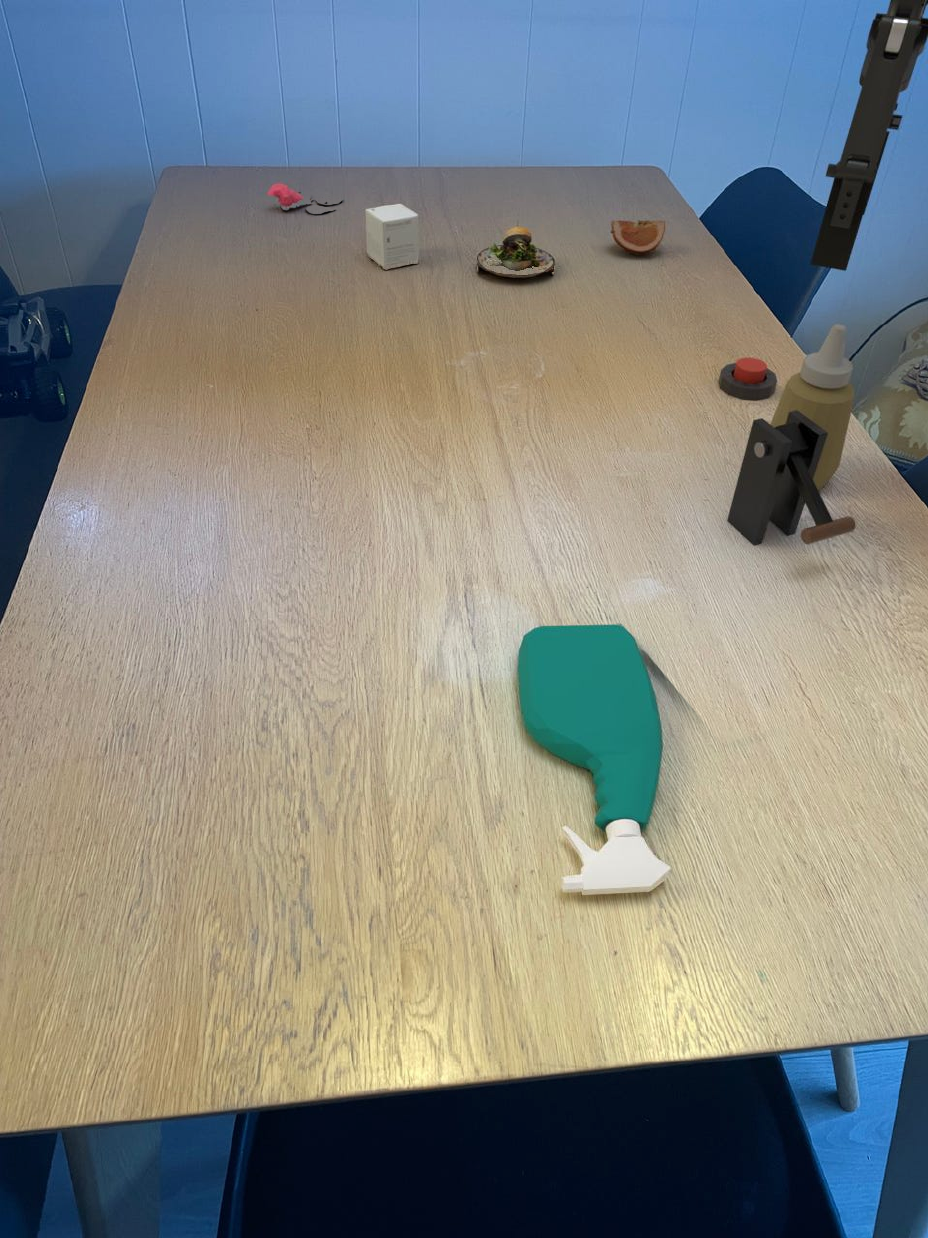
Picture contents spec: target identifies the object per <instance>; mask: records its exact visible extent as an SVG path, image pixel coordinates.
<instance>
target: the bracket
mask: <svg viewBox="0 0 928 1238" xmlns="http://www.w3.org/2000/svg"><path fill="white" fill-rule="evenodd" d="M792 422H796V423H797V425H798V427H799V429H800V431H801V433H802V435H803V437H804V439H805V441H806V443H807V445H808V449H807V450H806V451H804V452H803V453H802V454H801V457H802V459H803V461H804V463H805V465H806V467H807V469H808V471H809V473H810V475H811V477H812V479H813V478H814V475H815V472H816V469H817V466H818V463H819V460H820V457H821V453H822V450H823V447H824V444H825V441H826V438H827V435H828V432H826V431H825V430H824V429H822V428H821V427H819V426H818V425H817V424H815V423H814V422H813V421H811V420H810V419H809V418H807V417H806V416H805V415H803V414H802V413H800V412H799V411H798V410H795V411H791V412H789V413H788V417H787V420H786V424H788V423H792ZM770 424H771V423H769V422H768V421H766V419H764V418H762V417H760V418H757V419H753V421H752V424H751V428H750V431H749V436H748V440H747V444H746V447H745V451H744V454H743V459H742V462H741V466H740V469H739V473H738V477H737V481H736V485H735V489H734V492H733V497H732V500H731V503H730V507H729V512H728V516H727V519H726V521H727V522H728V524H730V526H732V527H733V528H734V529H735V530H736V531H737V532H738V533H739V534H740V535H741V536H743V538H744V539H746V540H747V542H749V543H750V544H751V545H752V546H754V547H755V546H758V545H763V541H764V539H765V535H766V531H767V529H768V525H769V522H771V524H772V525H774V526H775V527H776V528H777V529H778V530H779V531H781V532H782V533H783V535H785V536H786V537H790V536H793V535H796V532H797V531H798V530H797V529H798V526H799V523H800V521H801V518H802V514H803V511H804V508H805V505H806V503H805V501H804V499H803V497H802V495H801V493H800V491H799V489H798V487H797V485H796V483H795V481H794V479H793V477H792V475H791V473H790V471H789V469H788V467H787V464H786V462H787V459H788V455H789V452H790V449H791V445H792V441H791V440H790V439H788V438H787V437H786V436H785V435H783V434H782V433H781V432H779V431H778V430H777V429H776V428H774V427H773V426H772V425H770Z"/></svg>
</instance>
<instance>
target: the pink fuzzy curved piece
mask: <svg viewBox="0 0 928 1238" xmlns="http://www.w3.org/2000/svg"><path fill="white" fill-rule="evenodd" d="M296 192H297V191H296ZM296 192H295V190H293V189H291V188H289V187H288V186H287V185H286V184H283V183H281V182H280V183H275V184H273V185H271V187H270V189H269V190H268V192H267V193H266V195H267V196H273V197H275V198H278V203H279V202H280V205H282V206H286V207H287V206H290V205H292V203H297V202H298V201H299V200H302V198H304V197H303V196H301V195H300V194H298V193H296Z"/></svg>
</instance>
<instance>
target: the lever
mask: <svg viewBox="0 0 928 1238" xmlns="http://www.w3.org/2000/svg"><path fill="white" fill-rule="evenodd" d="M775 428H776V429H777V430H778V431H779V432H781V433H782V434H783V435H785V436H786V437H787V438H788V439H790V440H791V441H792V445H791V449H790V452H789V455H788V459H787V462H786V464H787V467H788V469H789V471H790V473H791V475H792V477H793V479H794V481H795V483H796V485H797V487H798V489H799V491H800V493H801V495H802V497H803V499H804V501H805V505H806V508H807V510H808V511H809V514H810V516H811V518H812V520H813V522H814V524H815V525H812V526H809V527H806V528H802V530H801V531H800V539H801V542H802V543H803V544H805V545H811V544H814V543H819V542H822V541H825V540H828V539H832V538H835V537H840V536H842V535H846V534H849V533H853V532H854V531H855V529H856V526H857V523H856V521H855V519H854V517H852V516H843V517H841V518H837V519H833V518H832V516H831V513H830V511H829V509H828V507H827V505H826V504H825V501H824V498H822V495H821V494H820V491H819V490H818V489H817V487H816V485H815V483H814V481H813V479H812V477H811V475H810V473H809V471H808V469H807V467H806V465H805V463H804V461H803V459H802V457H801V454H802V453H803V452H804V451H806V450H807V449H808V445H807V443H806V441H805V439H804V437H803V435H802V433H801V431H800V429H799V427H798V425H797V423H796V422H792V423H788V424H784V425H780V426H776V427H775Z"/></svg>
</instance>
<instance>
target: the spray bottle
mask: <svg viewBox="0 0 928 1238" xmlns="http://www.w3.org/2000/svg"><path fill="white" fill-rule="evenodd" d="M640 650H641V649H640V648H639V645H638V643H637V641H636V638H635V636H633V634H632V633H630V631H629V630H628V629H627V628H626V627H625V626H624V625H620V624H575V625H571V624H569V625H568V624H567V625H541V626H537V627H534V628H532V629H531V630H529V631H528V632H527V633H525V634H523V636H522V640H521V642H520V646H519V648H518V657H517V658H518V660H517V679H518V692H519V693H518V694H519V704H520V705H519V706H520V707H519V708H520V713H521V716H522V720H523V724H524V728H525V730H527V732H528V734H529V735H530V737H531V738H532V739H533V741H534V742H536V743H537V744H539V745H540V746H541V747H543V748H544V749H546V750H547V751H548V752H550V753H551V754H552V755H554V756H555V757H557V758H559V759H562V760H564V761H566V762H568V763H570V764H573V765H575V766H577V767H579V768H583V769H586V770H588V771H590V773H591V774H592V775H593V778H592V779H593V780H592V784H593V785H594V786H595V787H596V790H595V793H594V796H593V797H594V801H595V803H596V804H597V806H598V808H599V809H598V811H597V813H596V815H595V817H594V825H595V826H596V827H598V829H599V830H601V831H602V832H603V833H605V834H606V838H607V841H606V842H605V843H604V844H603V846H602V847H601V848H600V850H598V851H597V850H595V849H593V848H591V847H590V846H589V845H588V844H587V843H585V841H584V840H583V839H582V838H581V837H580V836H579V835H577V833H576V832H574V831H573V830H572V829H570V828H569V827H568V826H567V825H563V826H562V827H561V832H562V833H563V834H564V836H565V837H566V838H567V840H568V841H569V843H570V844H571V846H572V848H573V849H574V850H575V851H576V853H577V854H578V856H579V859H580V861H581V865H582V867H581V869H580V874H574V875H566V876H561V879H560V883H561V890H562V892H563V893H581V894H582V896H590V895H591V896H593V895H610V894H628V893H629V894H630V893H649V892H651V891H653V890H654V889H655V888H657V887H658V886H660V885H661V884H662V883H663V882H665V881H666V880H667V879H669V876H670V875H669V874H670V872H671V869H672V868H671V866H670V865H668V864H667V863H666V862H663V861H662V860H660V859H659V858H658V857H657V856H656V855H655V854H654V853H653V851H652V850H651V849H650V848H649V846H648V844H647V842H646V840H645V838H644V837H643V836H642V833H641V831H644V830H646V829H647V827H648V824H649V822H650V819H651V816H652V811H653V809H654V805H655V801H656V795H657V789H658V785H659V781H660V774H661V773H660V771H661V765H662V756H663V748H664V745H663V728H662V722H661V716H660V710H659V705H658V700H657V696H656V692H655V689H654V687H653V684H652V679H651V677H650V674H649V671H648V667H647V665H646V662H645V660H644V657H643V655H642V652H641V651H640Z"/></svg>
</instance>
